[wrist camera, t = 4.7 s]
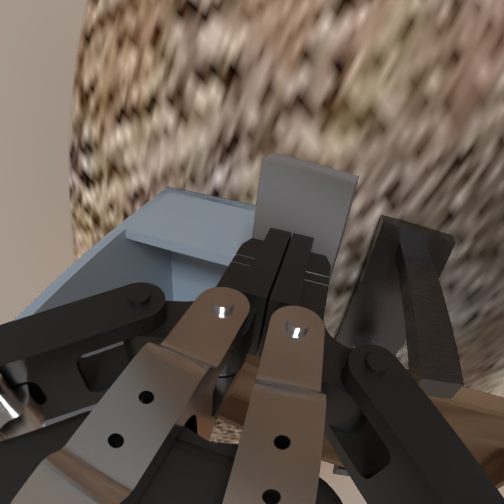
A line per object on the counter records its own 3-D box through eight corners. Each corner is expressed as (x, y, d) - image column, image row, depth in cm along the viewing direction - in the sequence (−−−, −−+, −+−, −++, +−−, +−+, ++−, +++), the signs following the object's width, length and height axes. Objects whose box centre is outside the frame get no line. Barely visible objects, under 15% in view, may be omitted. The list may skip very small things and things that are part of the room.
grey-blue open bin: (167, 187, 22) (-14, 349, 9) (315, 219, 20) (236, 484, 7) (171, 297, 27) (66, 451, 14) (287, 331, 26) (223, 523, 13)
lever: (260, 149, 11) (215, 172, 9) (630, 301, 6) (654, 345, 3) (231, 387, 19) (207, 423, 17) (476, 464, 14) (472, 502, 11)
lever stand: (381, 214, 19) (397, 354, 10) (451, 235, 18) (504, 372, 9) (328, 353, 26) (305, 473, 17) (383, 365, 25) (376, 484, 16)
